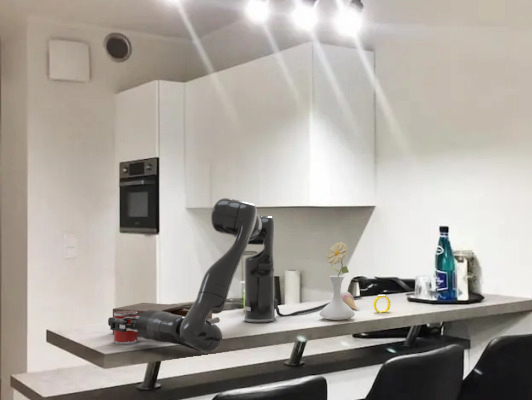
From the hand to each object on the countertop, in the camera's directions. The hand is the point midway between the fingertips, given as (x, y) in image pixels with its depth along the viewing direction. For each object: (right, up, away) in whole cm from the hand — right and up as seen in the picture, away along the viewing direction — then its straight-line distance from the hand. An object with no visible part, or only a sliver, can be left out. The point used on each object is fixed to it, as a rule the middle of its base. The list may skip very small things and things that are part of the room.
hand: (123, 319), depth 190 cm
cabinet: (+3, -6, +15) cm, 16 cm away
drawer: (+15, -5, +9) cm, 18 cm away
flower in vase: (+59, -6, +36) cm, 69 cm away
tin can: (+1, -6, -1) cm, 6 cm away
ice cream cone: (+64, -7, +63) cm, 90 cm away
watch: (+74, -6, +51) cm, 90 cm away
